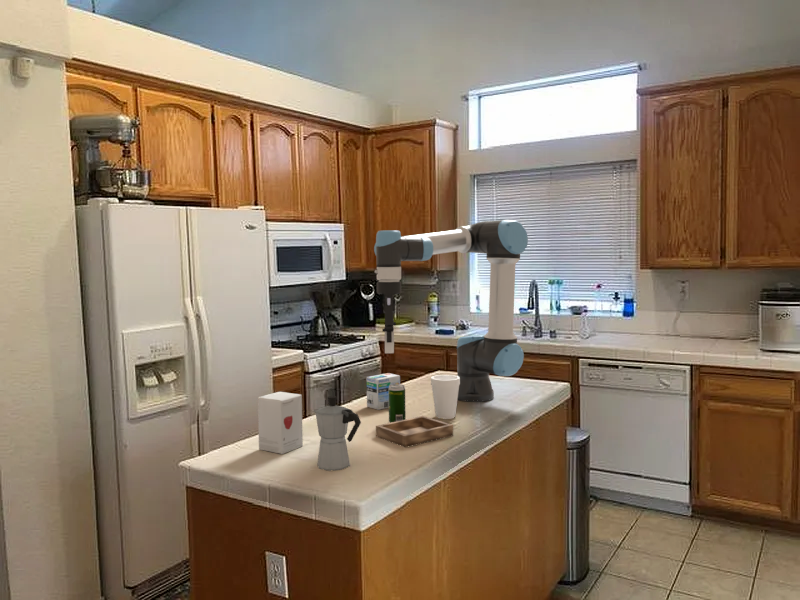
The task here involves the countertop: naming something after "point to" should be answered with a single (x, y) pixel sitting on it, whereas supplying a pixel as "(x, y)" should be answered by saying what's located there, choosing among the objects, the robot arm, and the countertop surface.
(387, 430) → the tray
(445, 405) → the foam cup
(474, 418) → the countertop surface
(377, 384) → the light bulb box
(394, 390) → the beer can
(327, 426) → the coffee maker
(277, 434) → the supplement box
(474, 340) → the robot arm
